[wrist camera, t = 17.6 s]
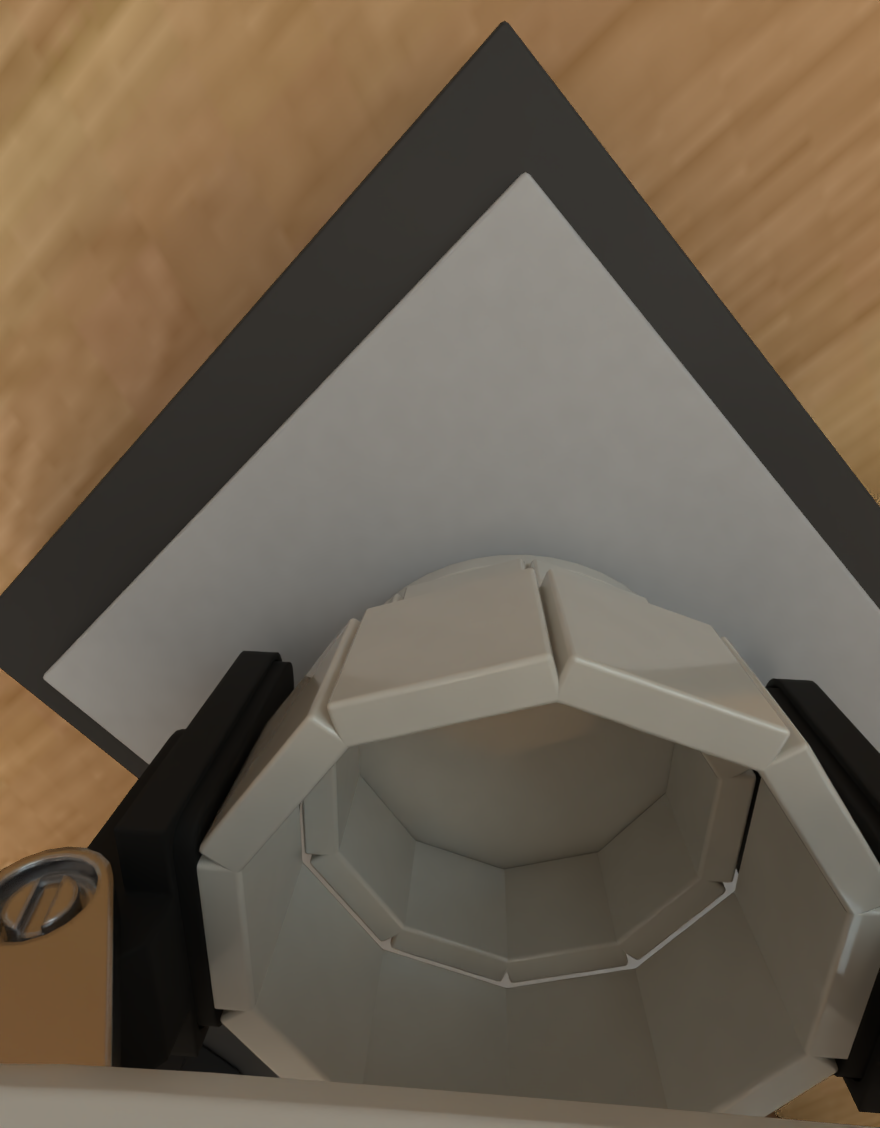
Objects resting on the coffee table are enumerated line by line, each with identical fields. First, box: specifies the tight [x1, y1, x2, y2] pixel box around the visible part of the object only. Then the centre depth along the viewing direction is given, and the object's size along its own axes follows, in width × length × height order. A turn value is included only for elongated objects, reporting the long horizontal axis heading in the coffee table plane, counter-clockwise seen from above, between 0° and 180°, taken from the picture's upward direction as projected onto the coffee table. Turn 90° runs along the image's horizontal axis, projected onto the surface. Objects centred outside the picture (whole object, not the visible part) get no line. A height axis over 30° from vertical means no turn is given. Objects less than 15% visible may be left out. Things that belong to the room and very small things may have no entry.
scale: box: [0, 21, 880, 988], centre depth 13 cm, size 15×13×3 cm
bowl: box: [197, 555, 880, 1117], centre depth 9 cm, size 7×7×4 cm
